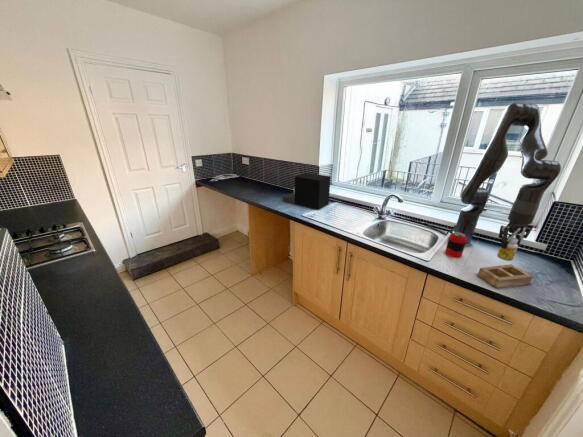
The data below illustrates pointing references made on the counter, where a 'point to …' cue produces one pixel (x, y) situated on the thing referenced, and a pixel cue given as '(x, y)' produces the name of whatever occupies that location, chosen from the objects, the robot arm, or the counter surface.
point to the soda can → (456, 244)
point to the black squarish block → (310, 191)
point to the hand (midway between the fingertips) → (508, 247)
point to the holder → (505, 276)
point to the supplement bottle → (508, 250)
